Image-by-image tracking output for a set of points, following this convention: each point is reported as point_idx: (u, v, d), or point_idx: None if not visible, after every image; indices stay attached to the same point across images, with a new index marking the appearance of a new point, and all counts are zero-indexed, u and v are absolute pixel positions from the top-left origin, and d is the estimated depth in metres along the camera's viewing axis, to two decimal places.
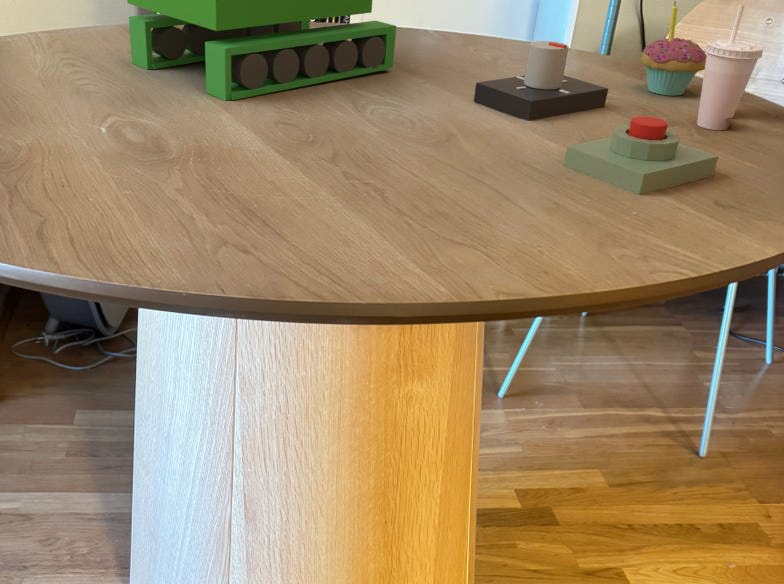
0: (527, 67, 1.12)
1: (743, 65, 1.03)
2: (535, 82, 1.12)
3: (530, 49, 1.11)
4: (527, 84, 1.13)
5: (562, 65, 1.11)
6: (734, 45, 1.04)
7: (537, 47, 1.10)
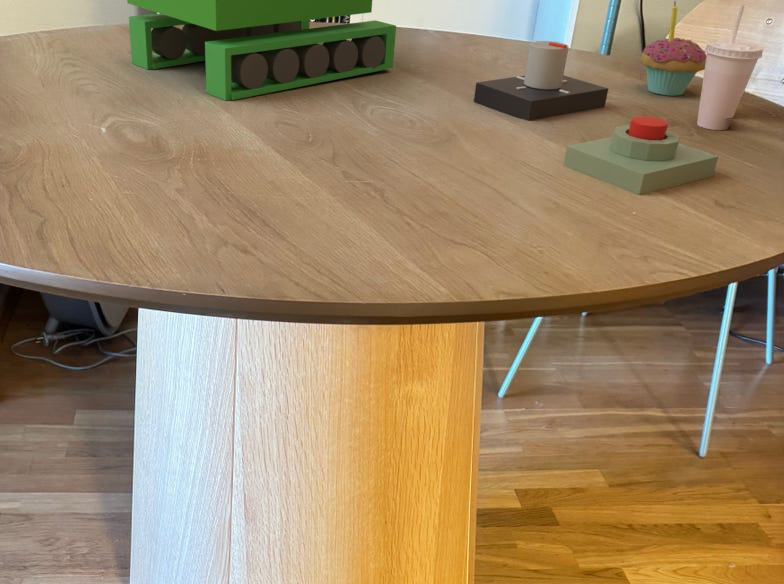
0: (527, 67, 1.12)
1: (743, 65, 1.03)
2: (535, 82, 1.12)
3: (530, 49, 1.11)
4: (527, 84, 1.13)
5: (562, 65, 1.11)
6: (734, 45, 1.04)
7: (537, 47, 1.10)
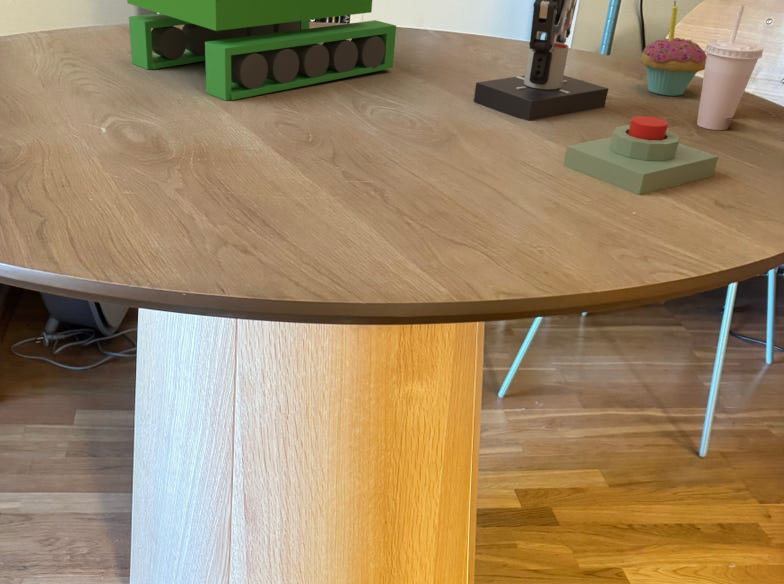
0: (527, 67, 1.12)
1: (743, 65, 1.03)
2: None
3: (530, 49, 1.11)
4: (527, 84, 1.13)
5: (562, 65, 1.11)
6: (734, 45, 1.04)
7: None
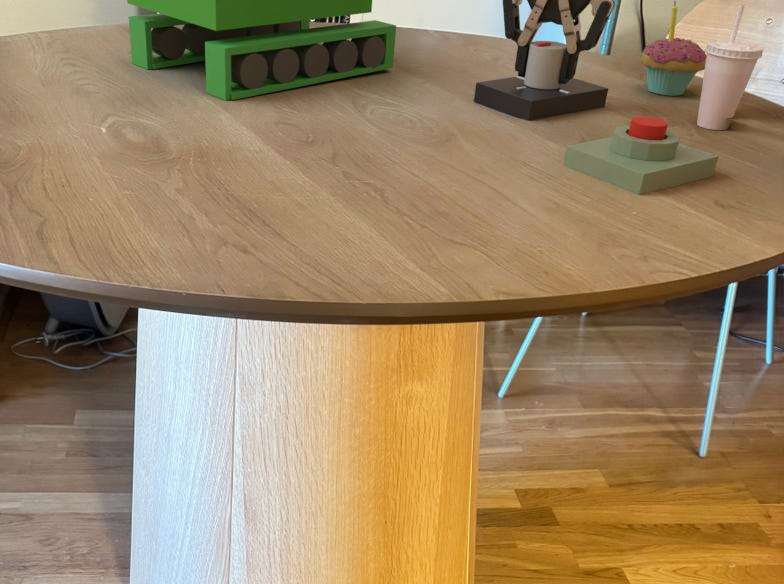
0: None
1: (743, 65, 1.03)
2: None
3: None
4: None
5: (534, 64, 1.11)
6: (734, 45, 1.04)
7: (536, 41, 1.13)
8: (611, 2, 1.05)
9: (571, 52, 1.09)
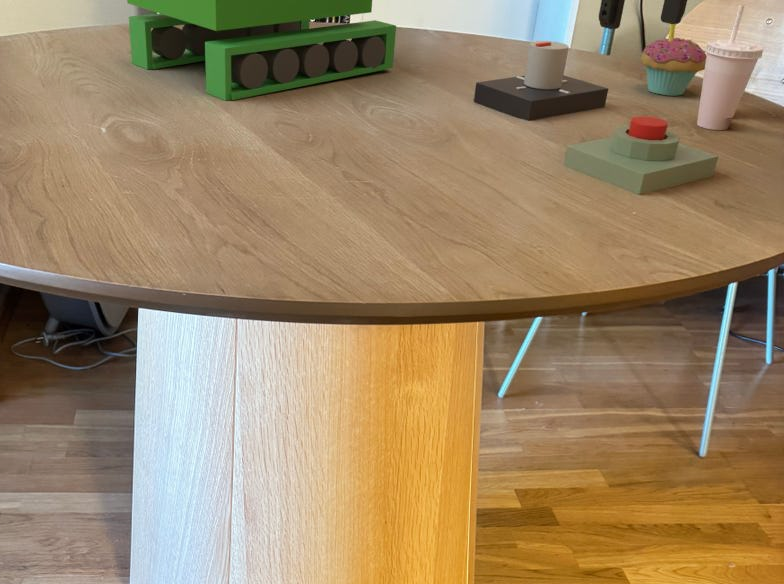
0: None
1: (743, 65, 1.03)
2: None
3: None
4: None
5: (534, 64, 1.11)
6: (734, 45, 1.04)
7: (535, 41, 1.13)
8: None
9: None
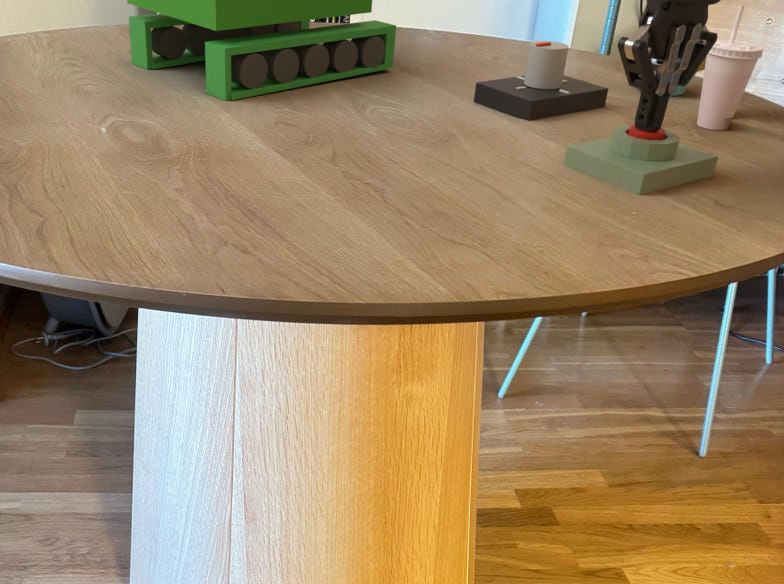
0: None
1: (743, 65, 1.03)
2: None
3: None
4: None
5: (534, 64, 1.11)
6: (734, 45, 1.04)
7: (535, 41, 1.13)
8: None
9: (672, 92, 0.88)
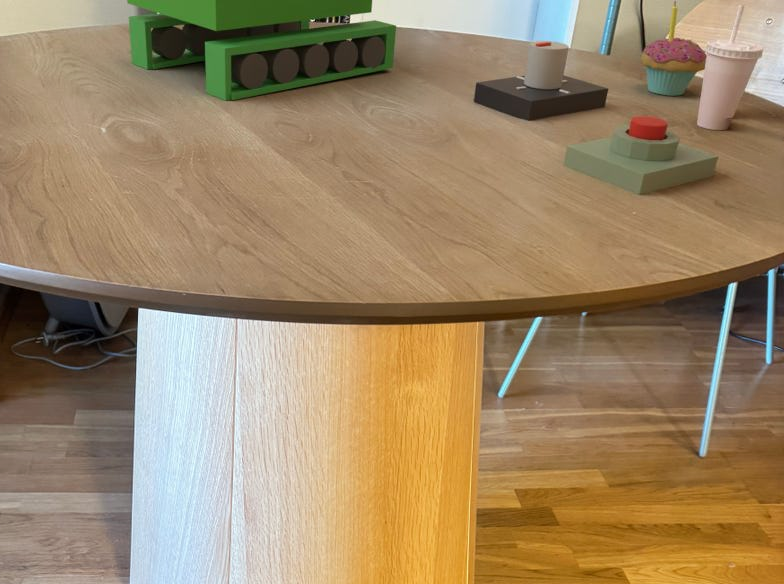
0: None
1: (743, 65, 1.03)
2: None
3: None
4: None
5: (534, 64, 1.11)
6: (734, 45, 1.04)
7: (535, 41, 1.13)
8: None
9: None
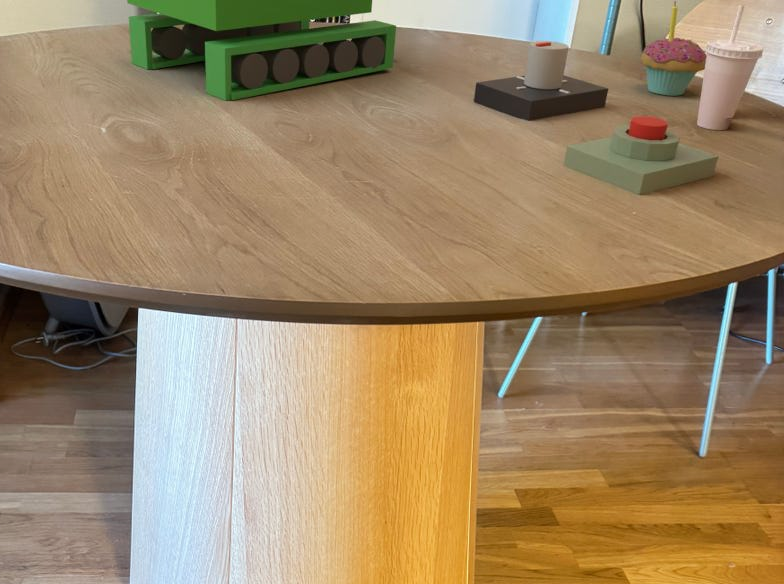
0: None
1: (743, 65, 1.03)
2: None
3: None
4: None
5: (534, 64, 1.11)
6: (734, 45, 1.04)
7: (535, 41, 1.13)
8: None
9: None
